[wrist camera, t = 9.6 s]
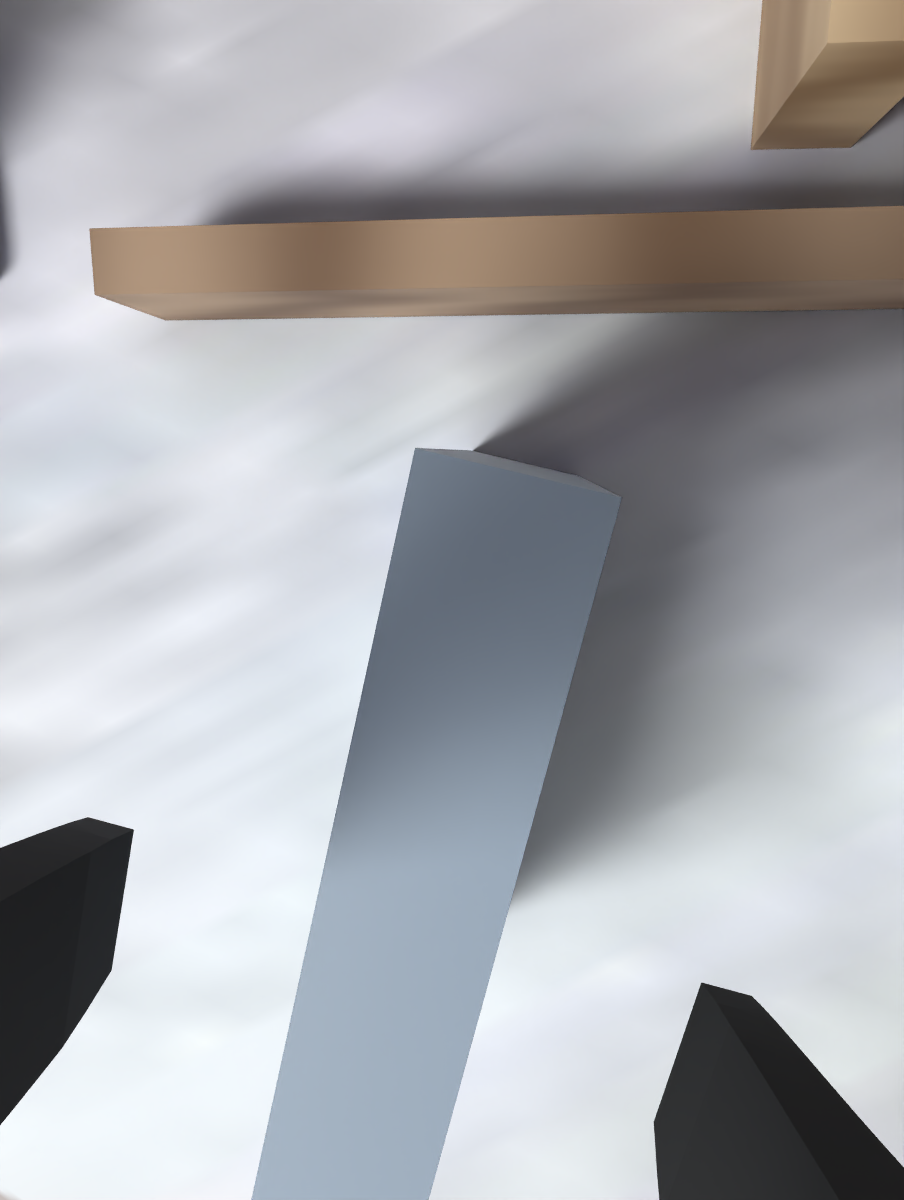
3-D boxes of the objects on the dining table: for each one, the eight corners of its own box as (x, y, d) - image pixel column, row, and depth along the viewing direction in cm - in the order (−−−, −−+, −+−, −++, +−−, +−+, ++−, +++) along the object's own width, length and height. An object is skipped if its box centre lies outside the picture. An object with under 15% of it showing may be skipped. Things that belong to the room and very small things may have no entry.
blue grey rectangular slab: (367, 903, 20) (242, 1243, 12) (473, 450, 18) (414, 448, 9) (459, 928, 20) (402, 1292, 12) (578, 475, 18) (622, 498, 9)
